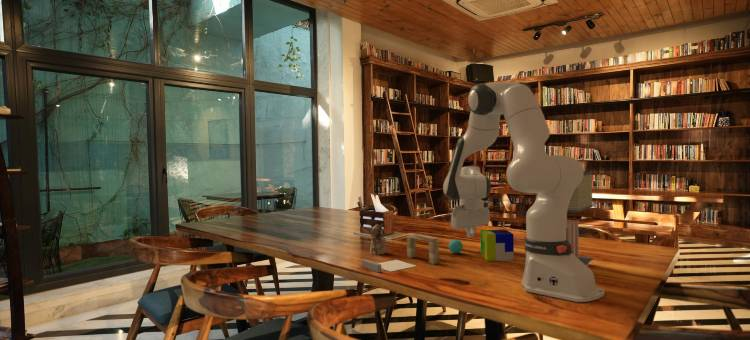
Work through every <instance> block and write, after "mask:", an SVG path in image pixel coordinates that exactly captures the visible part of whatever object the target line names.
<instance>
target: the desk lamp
mask: <svg viewBox="0 0 750 340" xmlns="http://www.w3.org/2000/svg"><path fill="white" fill-rule="evenodd" d="M537 195H538V193H535V199H536V198H537ZM591 208H593V172H584V175H583V179H582V181H581V183H580V184H579V185H578V186H577V187H576V189H575V190H574V192H573V194H572V197H571V199H570V202H569V206H568V210H567V213H581V212H583V211H586V210H588V209H591ZM566 239H567V240H568V242H569V243H570V244H575V245H574V246H573V247H574V248H571V250H572V254H573V255H575V256H576V257H577V258H578V259H579V260H580V261H581V262H582V263H584V264H585V265H586V266H587V267H588V266H589V265H590V262H592V261H593V260H594V257H590V256H589V257H588V256H581V255H580V254H579V220H575V219H574V220H571V219H568V216H567V217H566Z"/></svg>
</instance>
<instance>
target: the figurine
mask: <svg viewBox="0 0 750 340" xmlns="http://www.w3.org/2000/svg"><path fill="white" fill-rule="evenodd" d="M383 226H384V224H383V223H381V224H380V225H379V224H375V225H374V226H373V227H371V228H372V230H371V234H370V236H369V237H370V238H371V240H370V248H369V254H370V253H371V254H370V255H373V254H377V255H376V256H380V255H379V254H383V255H386V254H387V251H388V247H387V242H386V238H385V230H384V228H383ZM385 253H386V254H385Z"/></svg>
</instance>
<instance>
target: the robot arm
mask: <svg viewBox="0 0 750 340" xmlns="http://www.w3.org/2000/svg"><path fill="white" fill-rule="evenodd" d="M470 88H471V89H470V90H469V92H468V95H467V104H468V105H467V106H468V108H469V110H470V113H469V119H468V126H467V128H466V131H465V133H464V134H463V136H461V137H459V138H458V139H457V142H456V144H455V147H454V149H453V153H452V157H451V161H450V163H449V168H448V170H447V174H446V176H445V179H444V181H443V187H442V190H443V194H444V196H445V197H446V198H448V200H451V201H459V205H455V206H454V207H453V209H452V212H451V219H450V227H451V228H452V229H456V230H459V229H464V231H465V233H466V238H474V237H475V234H476V233H475V232H476V230H477V227H479V226H485V225H488V224H489V223H490V221H491V220H490V218H491V217H490V216H491V215H490V209H489V208H490V203H489V202H488V201H485V200H483V199H485V198H487V197H488V196H489V195H490V194H491V192H492V191H491V190H492V189H491V187H492V184H491V180H490V178H489V177H488V176H486V175H484V174H482V173H481V168H480V167H479V166H478V165H465V166H464V162H465V160H466V158H467V157H469V156H470V155H472V154H474V153H476V152H479V151H483V150H485V149H487V148H489V147H490V146H492V145H493V144H494V143H495V142H496V140H497V138H498V135H499V129H500V121H501V116H504V120H505V123H506V127H507V129H508V132H509V135H510V138H511V141H512V142H511V143H512V145H513V156H512V160H511V161H510V162H509V164H508V166H507V169H506V174H505V175H506V176H505V177H506V180H507V183H508V185H509V186H510V188H511V189H513V190H514V191H517V192H521V193H525V194H536V193H538V195H537V198H536V197H535V201H534V203H532V205H531V206H530V207H529V208H528V210H527V211H526V214H525V229H526V230H525V231H526V237H524V251H525V263H524V271H523V274H522V279H521V282H520V284H521V286H523V288H524V292H529V293H533V294H537V295H542V296H546V297H552V298H557V299H562V300H565V301H571V302H575V303H586V302H592V301H595V300H599V299H601V298H603V297H604V296H605V294H606V293H605V289H604V288H602V287H599V286H597V285H596V279H595V275H594V272H593V270H592V269H591V268H589V267H588V266H586V265H585V264H584V263H582V262H581V261H580V260H579V259H578V258H577V257H576V256H575V255H573V254H572V250H571V248H574V247H573V246H574V245H575V244H570V243H569V242H568V240H567V239H566V217H567V218H568V212H567V210H568V206H569V202H570V199H571V197H572V194H573V192H574V190H575V189H576V187H577V186H578V185H579V184H580V183H581V181H582V179H583V175H584V173H585V172H584V168H583V166H582V164H581V162H580V161H579V160H578V159H575V158H574V157H571V156H567V155H561V154H559V155H558V154H557V155H556V154H555V155H548V153H547V151H546V146H545V144H546V142H547V141H548V140H549V138H550V135H551V131H550V128H549V126H548V123H547V120H546V119H545V115H544V113H543V111H542V109H541V106H540V104H539V102H538V100H537V98H536V96H535V95H534V93H533V91H532V89H531V87H530V85H529V84H528V83H526V82H522V81H514V82H513V81H495V82H493V81H492V82H488V83H479V84H477V85H473V86H472V87H470Z"/></svg>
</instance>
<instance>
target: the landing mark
mask: <svg viewBox="0 0 750 340" xmlns="http://www.w3.org/2000/svg"><path fill="white" fill-rule="evenodd" d="M377 263H378V264H381V270H383V271H386V272H390V273H391V272H396V271H397V272H398V271H401V270H402V271H403V270H406V269H411V268H414V267H415V268H416V267H417V265H416V264H413V263H409V262H405V261H402V260H399V259H394V260H388V261H383V262H377Z"/></svg>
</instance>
